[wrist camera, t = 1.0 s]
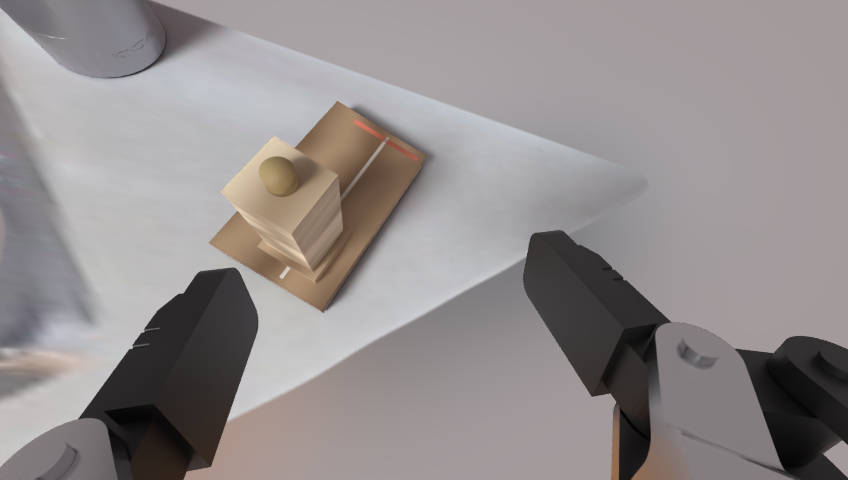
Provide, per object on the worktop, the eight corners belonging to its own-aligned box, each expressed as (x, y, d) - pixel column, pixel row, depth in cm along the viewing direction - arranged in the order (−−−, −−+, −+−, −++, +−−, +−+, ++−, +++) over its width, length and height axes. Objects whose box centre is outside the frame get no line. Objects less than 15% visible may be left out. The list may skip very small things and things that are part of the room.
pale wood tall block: (261, 250, 25) (192, 181, 14) (304, 198, 27) (273, 103, 16) (316, 283, 25) (289, 240, 14) (355, 228, 27) (356, 154, 16)
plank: (218, 249, 26) (208, 242, 24) (338, 114, 32) (337, 100, 30) (323, 312, 26) (321, 310, 24) (422, 166, 32) (426, 155, 31)
